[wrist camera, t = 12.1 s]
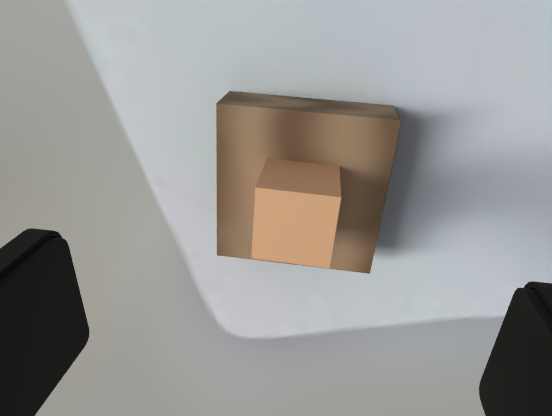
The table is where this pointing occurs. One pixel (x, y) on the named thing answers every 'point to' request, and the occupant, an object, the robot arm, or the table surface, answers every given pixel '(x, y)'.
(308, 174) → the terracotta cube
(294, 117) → the walnut base
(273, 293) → the table surface
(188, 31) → the table surface
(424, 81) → the table surface
